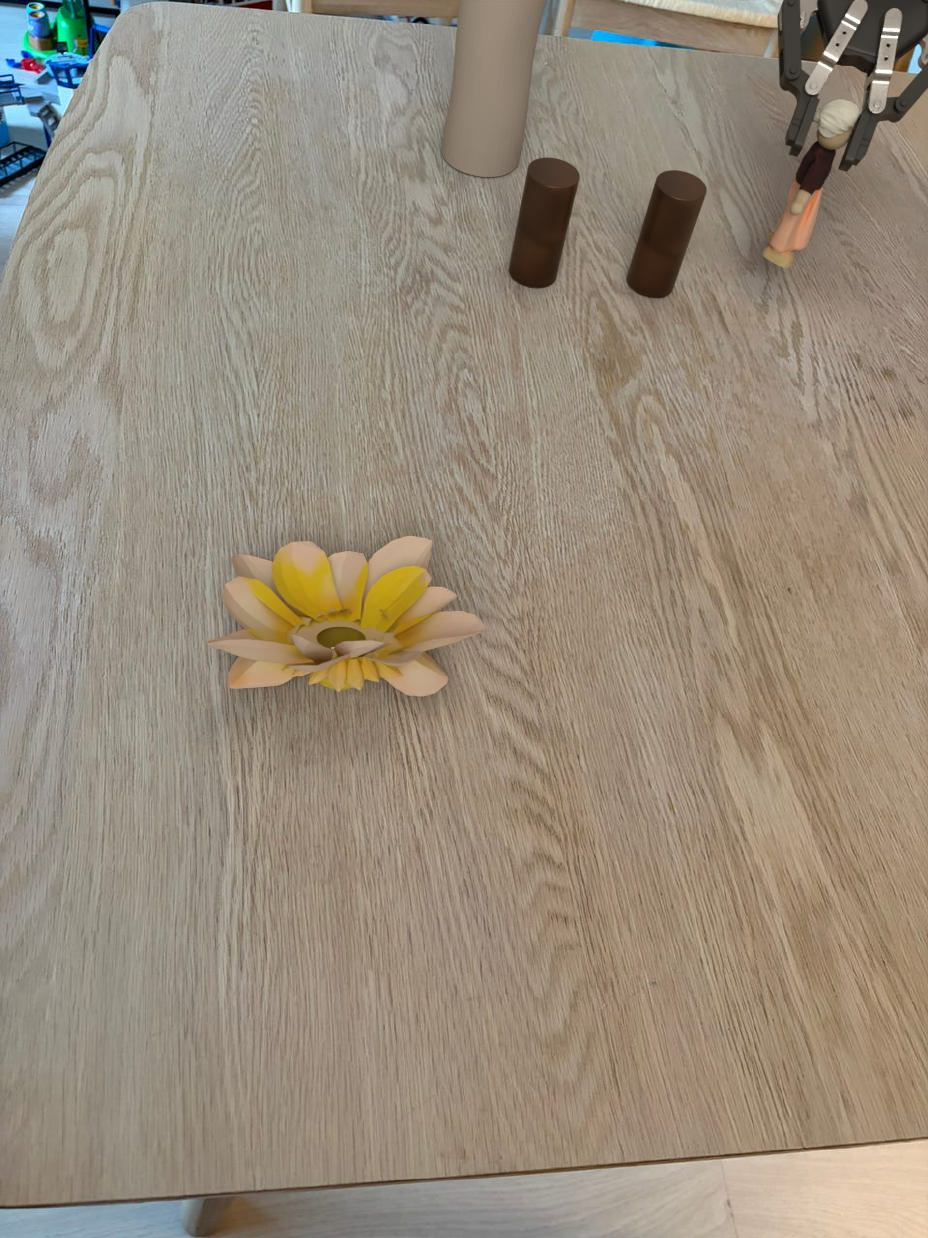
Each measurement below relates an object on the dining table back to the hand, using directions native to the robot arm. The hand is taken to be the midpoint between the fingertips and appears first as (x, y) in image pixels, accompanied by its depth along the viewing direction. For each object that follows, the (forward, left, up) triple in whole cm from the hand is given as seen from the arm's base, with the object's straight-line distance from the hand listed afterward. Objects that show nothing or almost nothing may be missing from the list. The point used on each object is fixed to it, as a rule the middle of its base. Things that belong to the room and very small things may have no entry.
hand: (820, 159), depth 78 cm
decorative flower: (+34, +38, -12) cm, 53 cm away
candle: (+23, -20, -12) cm, 33 cm away
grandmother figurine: (-1, -2, -9) cm, 9 cm away
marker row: (+15, 0, -12) cm, 19 cm away
